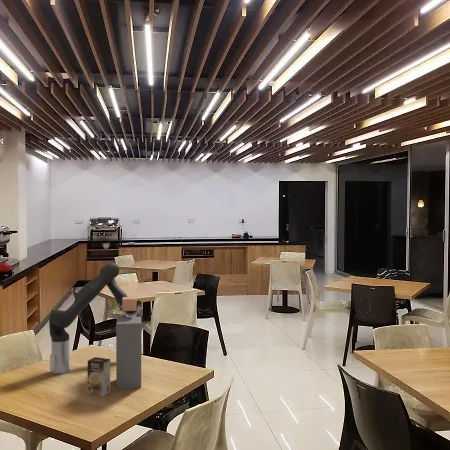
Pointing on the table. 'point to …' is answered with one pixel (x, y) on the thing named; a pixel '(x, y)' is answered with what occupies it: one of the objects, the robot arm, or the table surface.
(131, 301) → the salmon orange block
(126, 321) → the pedestal
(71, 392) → the table surface
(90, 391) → the coffee box
